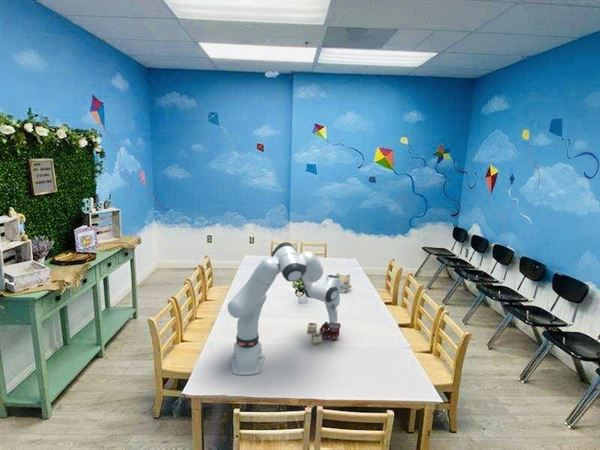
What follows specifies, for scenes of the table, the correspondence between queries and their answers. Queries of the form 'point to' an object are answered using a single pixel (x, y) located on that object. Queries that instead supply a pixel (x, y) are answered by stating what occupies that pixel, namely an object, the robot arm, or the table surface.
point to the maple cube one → (316, 339)
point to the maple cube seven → (312, 328)
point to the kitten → (344, 282)
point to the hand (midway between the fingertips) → (330, 322)
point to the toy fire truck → (330, 331)
